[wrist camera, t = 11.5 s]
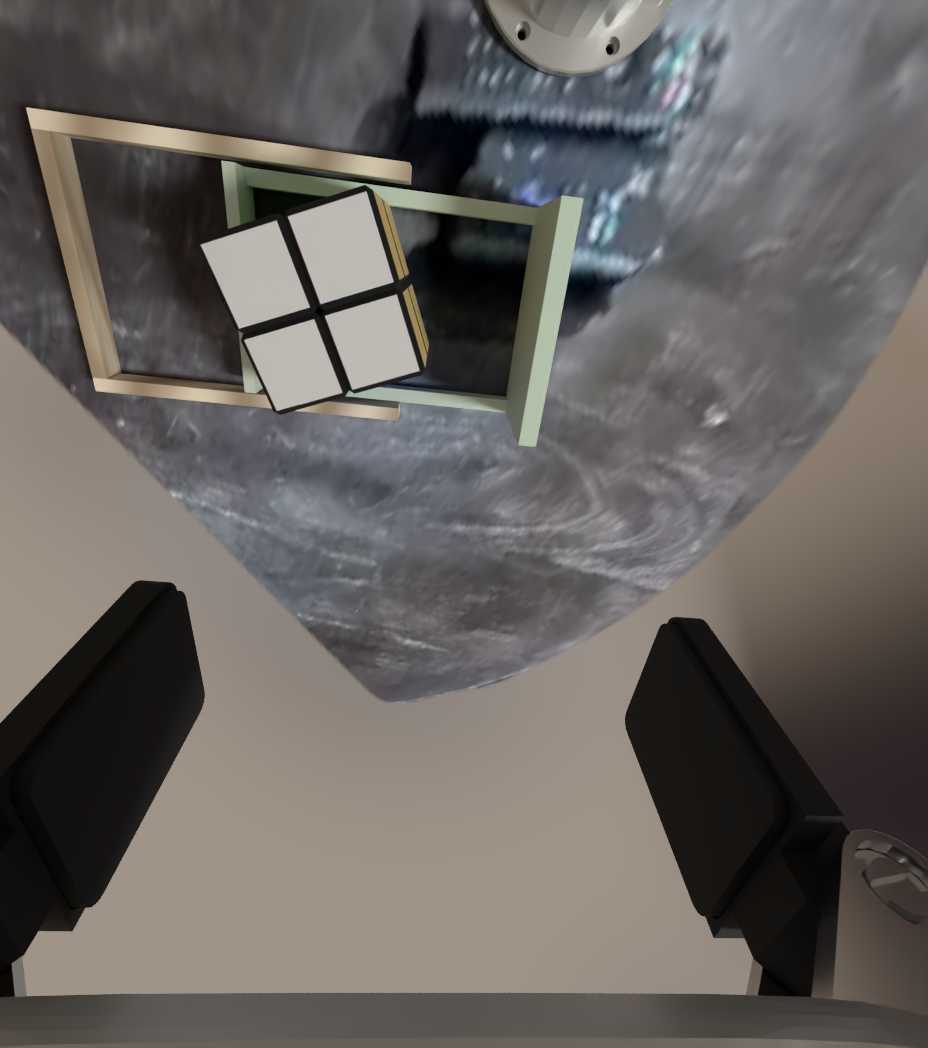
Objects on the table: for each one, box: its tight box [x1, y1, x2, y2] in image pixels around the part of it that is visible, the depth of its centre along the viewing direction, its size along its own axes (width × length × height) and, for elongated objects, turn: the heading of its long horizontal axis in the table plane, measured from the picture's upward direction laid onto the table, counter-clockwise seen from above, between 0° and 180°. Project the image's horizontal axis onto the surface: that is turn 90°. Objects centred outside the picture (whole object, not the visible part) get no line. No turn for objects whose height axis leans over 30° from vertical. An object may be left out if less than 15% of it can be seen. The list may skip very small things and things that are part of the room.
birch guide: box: [26, 107, 412, 421], centre depth 35 cm, size 23×17×2 cm
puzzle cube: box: [197, 185, 429, 415], centre depth 32 cm, size 10×10×10 cm
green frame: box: [221, 161, 583, 447], centre depth 33 cm, size 21×14×9 cm, turn 84°
